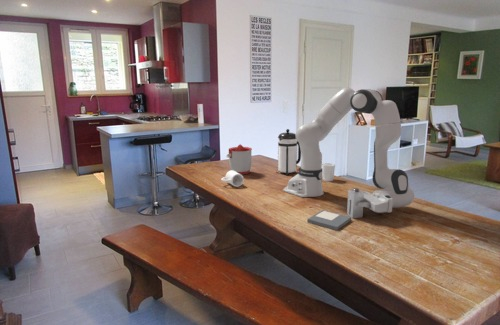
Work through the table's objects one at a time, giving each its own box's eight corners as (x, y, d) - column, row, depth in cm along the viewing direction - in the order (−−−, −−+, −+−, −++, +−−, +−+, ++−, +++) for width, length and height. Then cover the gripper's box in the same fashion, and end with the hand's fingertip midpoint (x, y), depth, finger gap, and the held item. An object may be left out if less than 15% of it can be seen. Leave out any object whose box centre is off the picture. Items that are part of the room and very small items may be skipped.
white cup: (325, 182, 213) (325, 166, 210) (319, 178, 220) (319, 163, 218) (336, 181, 215) (337, 165, 212) (330, 177, 222) (331, 162, 220)
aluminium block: (346, 214, 160) (348, 188, 157) (356, 213, 161) (358, 187, 159) (352, 218, 155) (353, 191, 153) (362, 217, 157) (364, 190, 154)
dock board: (307, 222, 152) (307, 218, 151) (322, 213, 162) (322, 209, 162) (336, 230, 143) (337, 226, 143) (351, 220, 153) (351, 216, 153)
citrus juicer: (223, 171, 240) (223, 143, 235) (247, 169, 246) (247, 141, 241) (230, 177, 225) (230, 147, 221) (255, 174, 231) (255, 145, 227)
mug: (237, 181, 215) (237, 169, 213) (244, 186, 206) (243, 173, 204) (219, 184, 210) (218, 171, 208) (225, 188, 201) (224, 175, 200)
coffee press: (299, 176, 226) (300, 130, 220) (274, 175, 229) (275, 130, 223) (300, 169, 243) (301, 127, 236) (278, 169, 246) (278, 127, 239)
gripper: (368, 186, 169) (342, 189, 166) (395, 200, 150) (366, 202, 147) (367, 199, 171) (342, 201, 167) (393, 213, 151) (365, 216, 148)
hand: (353, 202), depth 157 cm, fingers closed on aluminium block, 5 cm apart
